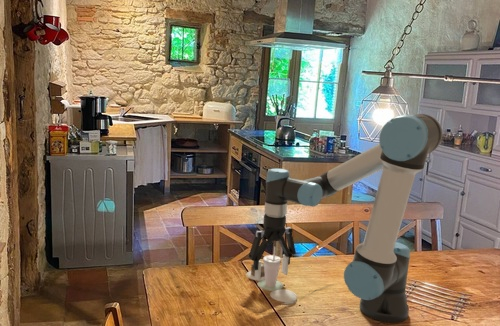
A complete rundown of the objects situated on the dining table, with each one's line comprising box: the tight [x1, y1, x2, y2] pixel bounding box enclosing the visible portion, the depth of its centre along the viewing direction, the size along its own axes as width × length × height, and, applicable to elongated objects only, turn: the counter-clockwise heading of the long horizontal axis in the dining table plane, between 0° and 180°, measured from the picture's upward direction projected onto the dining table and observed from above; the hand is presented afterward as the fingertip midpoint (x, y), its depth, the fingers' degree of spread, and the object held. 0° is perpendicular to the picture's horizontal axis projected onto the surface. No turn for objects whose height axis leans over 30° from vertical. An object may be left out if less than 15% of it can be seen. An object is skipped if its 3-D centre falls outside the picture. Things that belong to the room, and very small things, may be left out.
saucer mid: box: [257, 280, 284, 292], centre depth 161 cm, size 9×9×1 cm
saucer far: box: [245, 270, 265, 282], centre depth 168 cm, size 9×9×1 cm
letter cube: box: [250, 262, 265, 278], centre depth 167 cm, size 4×4×4 cm
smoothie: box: [262, 246, 282, 287], centre depth 159 cm, size 6×6×14 cm
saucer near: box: [269, 288, 298, 306], centre depth 153 cm, size 9×9×1 cm
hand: (271, 275), depth 160 cm, fingers open, 10 cm apart
